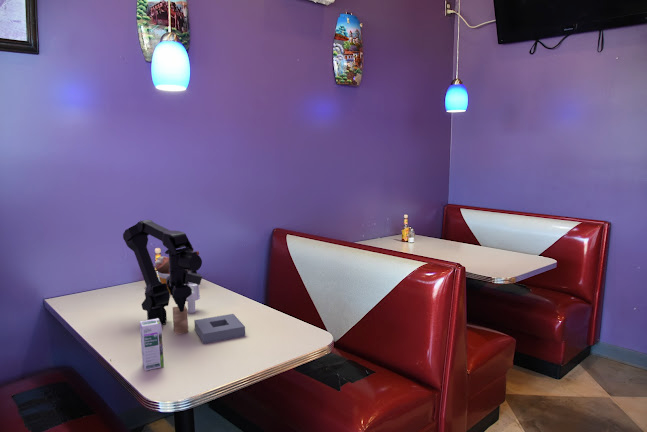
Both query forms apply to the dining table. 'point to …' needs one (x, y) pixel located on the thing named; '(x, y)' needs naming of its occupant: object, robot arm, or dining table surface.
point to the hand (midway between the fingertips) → (179, 307)
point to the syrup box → (151, 344)
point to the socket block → (219, 328)
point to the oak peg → (180, 320)
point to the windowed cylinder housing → (193, 297)
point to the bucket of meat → (164, 268)
